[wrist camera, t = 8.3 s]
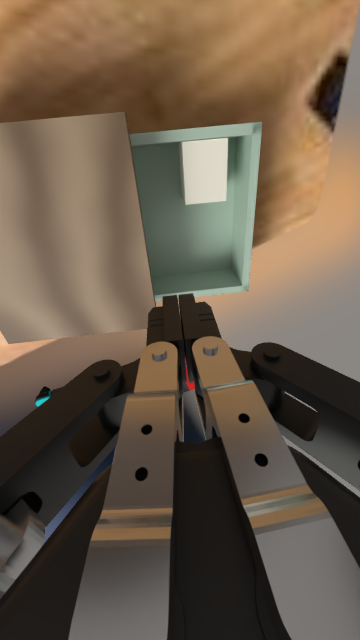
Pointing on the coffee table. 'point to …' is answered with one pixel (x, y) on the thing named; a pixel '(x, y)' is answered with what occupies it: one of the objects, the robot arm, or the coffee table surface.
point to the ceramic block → (203, 170)
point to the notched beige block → (71, 230)
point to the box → (197, 213)
